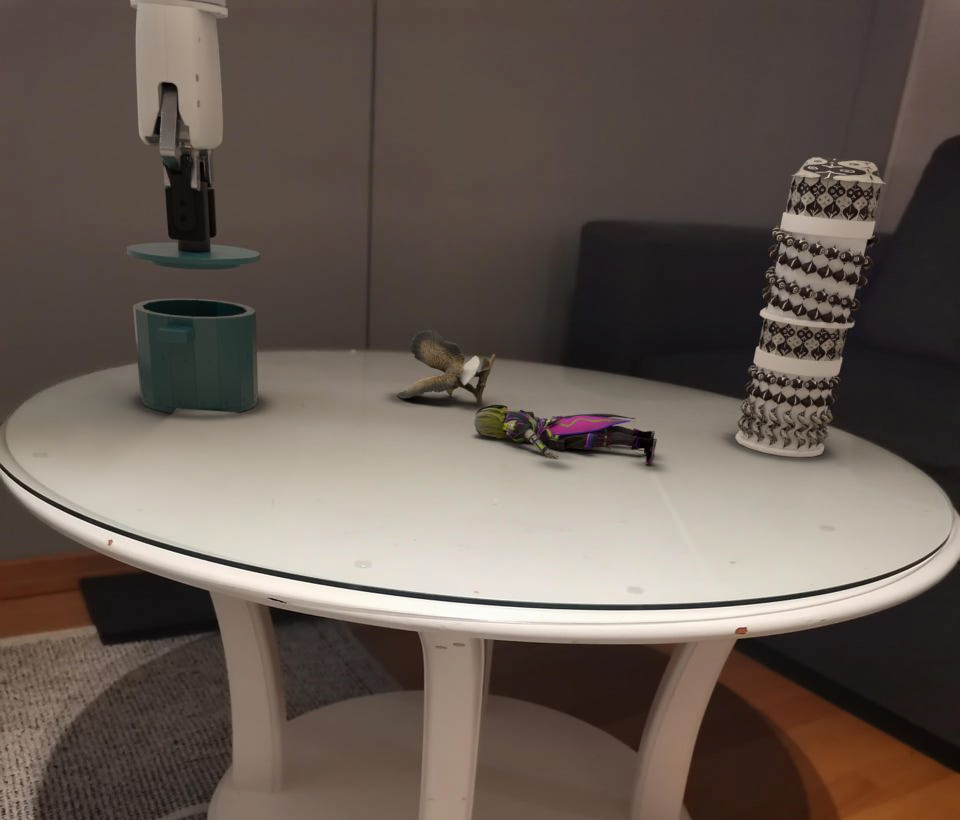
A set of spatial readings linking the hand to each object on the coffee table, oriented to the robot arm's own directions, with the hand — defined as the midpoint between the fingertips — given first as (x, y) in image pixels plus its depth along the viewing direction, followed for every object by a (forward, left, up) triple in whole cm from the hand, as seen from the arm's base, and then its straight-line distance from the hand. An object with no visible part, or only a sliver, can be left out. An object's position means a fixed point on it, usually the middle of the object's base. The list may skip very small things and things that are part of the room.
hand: (193, 236), depth 86 cm
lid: (0, 0, -2) cm, 2 cm away
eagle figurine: (+23, +8, -15) cm, 28 cm away
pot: (0, 0, -15) cm, 15 cm away
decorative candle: (+56, 0, -15) cm, 58 cm away
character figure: (+34, -8, -15) cm, 38 cm away
